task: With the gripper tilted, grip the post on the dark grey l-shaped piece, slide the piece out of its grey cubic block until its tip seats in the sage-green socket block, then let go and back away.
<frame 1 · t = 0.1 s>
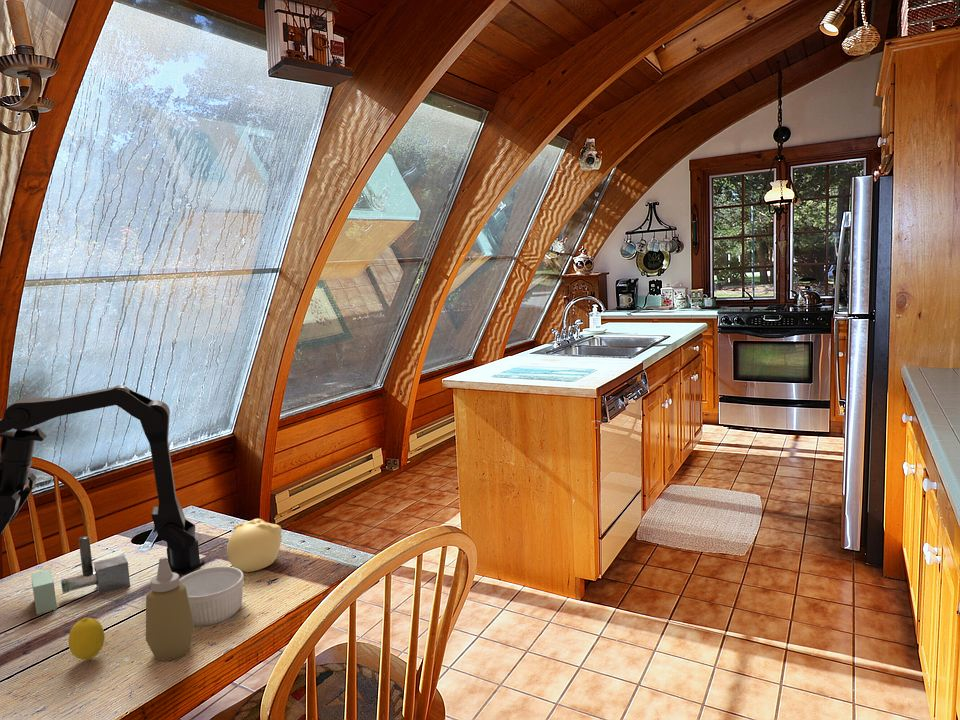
hand: (2, 529, 142), 15 cm above the table, tool pointing down, fingers open, 9 cm apart
ramekin: (211, 613, 136), on the table
squeeze bottle: (172, 653, 122), on the table
socket block: (45, 604, 141), on the table
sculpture: (255, 566, 157), on the table
grey cubic block: (113, 586, 148), on the table
dark grey l-shaped piece: (91, 560, 145), point 7 cm above the table, slide at 0.0 cm
lemon: (89, 660, 120), on the table
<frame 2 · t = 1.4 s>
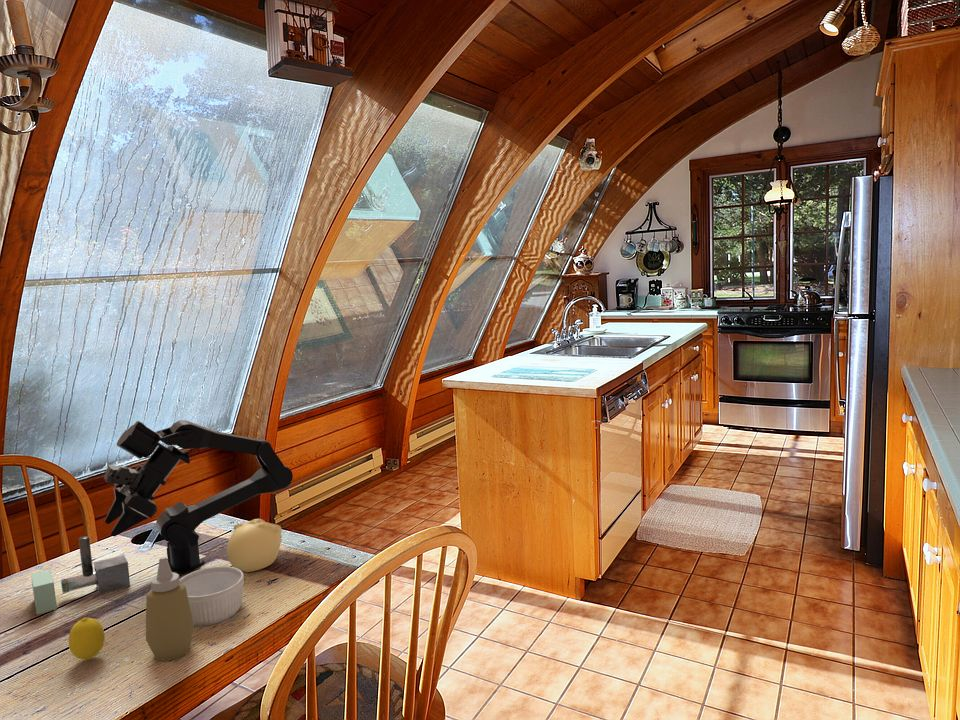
hand: (109, 529, 147), 13 cm above the table, tool tilted 45°, fingers open, 9 cm apart
nothing on the table moved.
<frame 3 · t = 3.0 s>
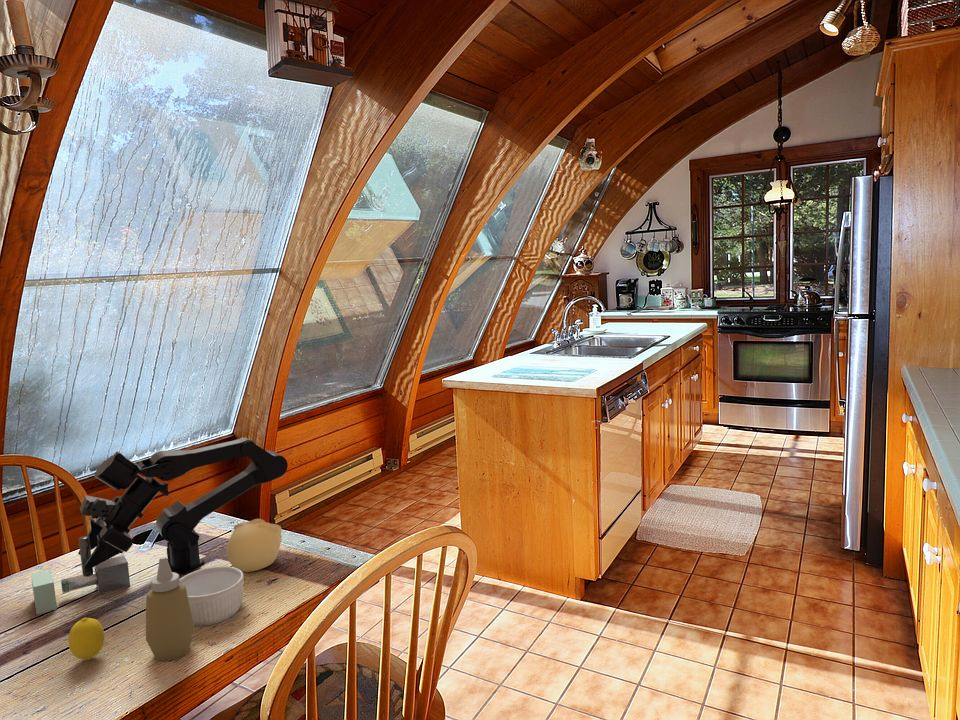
hand: (82, 561, 144), 7 cm above the table, tool tilted 45°, fingers open, 9 cm apart
nothing on the table moved.
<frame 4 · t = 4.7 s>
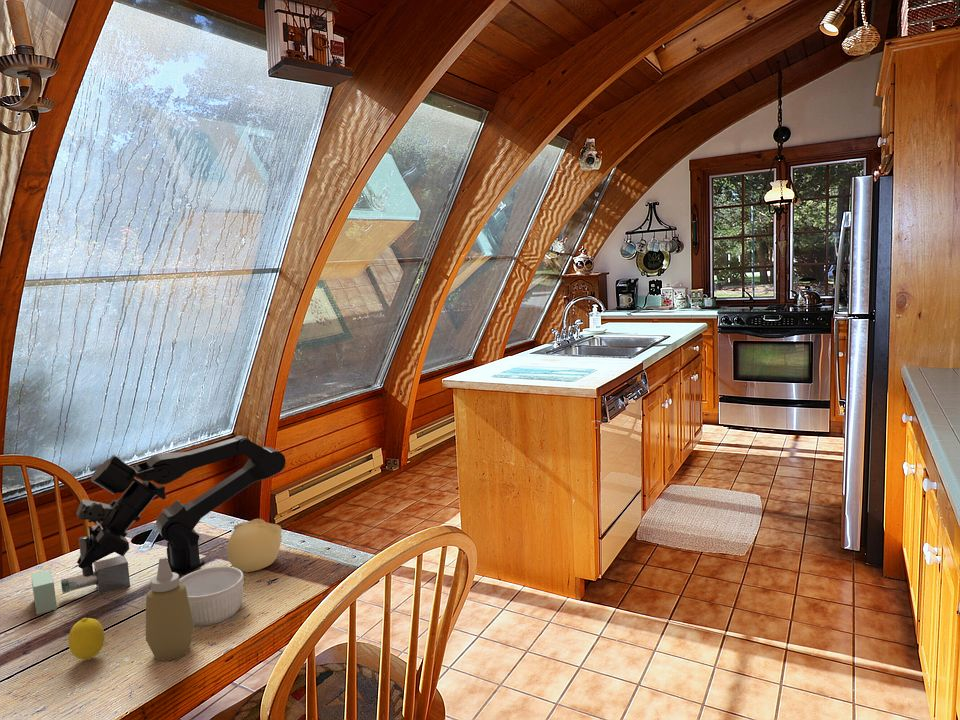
hand: (79, 565, 144), 7 cm above the table, tool tilted 45°, fingers closed on dark grey l-shaped piece, 2 cm apart
dark grey l-shaped piece: (91, 560, 145), point 7 cm above the table, slide at 0.0 cm, touching gripper
everything else where it was.
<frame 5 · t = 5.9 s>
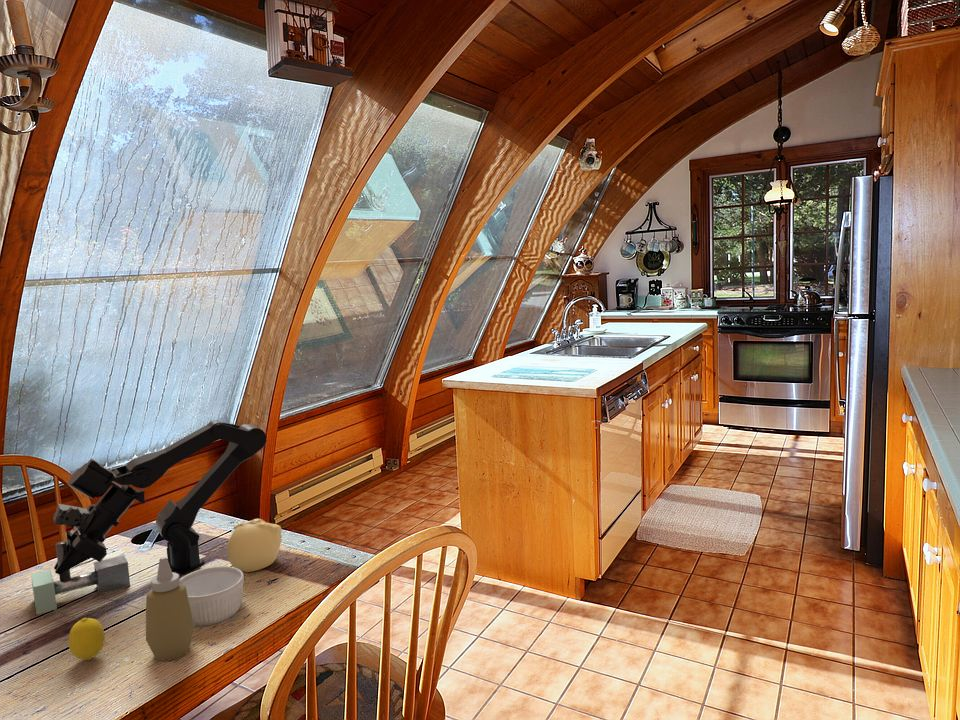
hand: (56, 571, 141), 7 cm above the table, tool tilted 45°, fingers closed on dark grey l-shaped piece, 2 cm apart
dark grey l-shaped piece: (69, 566, 143), point 7 cm above the table, slide at 4.2 cm, touching gripper
everything else where it was.
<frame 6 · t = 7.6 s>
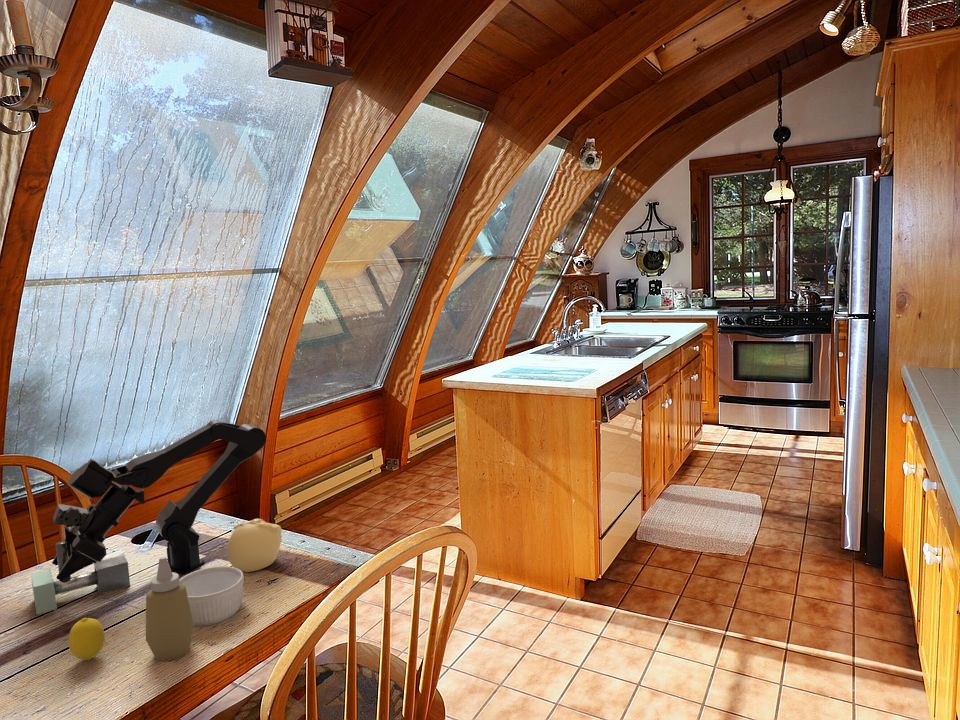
hand: (56, 571, 141), 7 cm above the table, tool tilted 45°, fingers open, 9 cm apart
dark grey l-shaped piece: (69, 566, 143), point 7 cm above the table, slide at 4.2 cm
everything else where it was.
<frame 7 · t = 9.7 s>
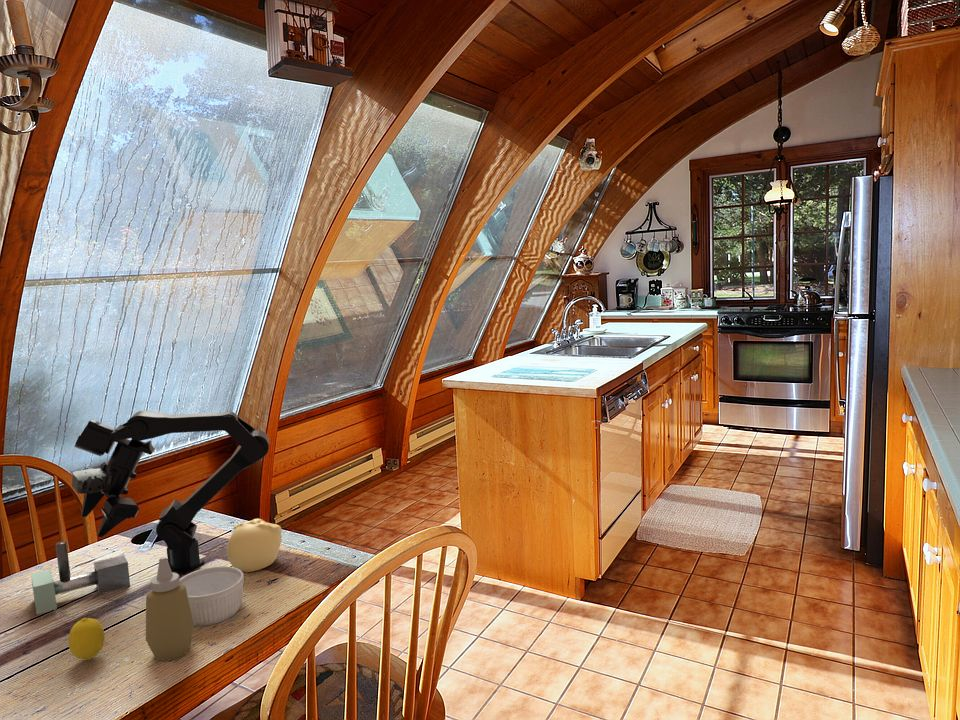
hand: (91, 526, 150), 13 cm above the table, tool tilted 30°, fingers open, 9 cm apart
nothing on the table moved.
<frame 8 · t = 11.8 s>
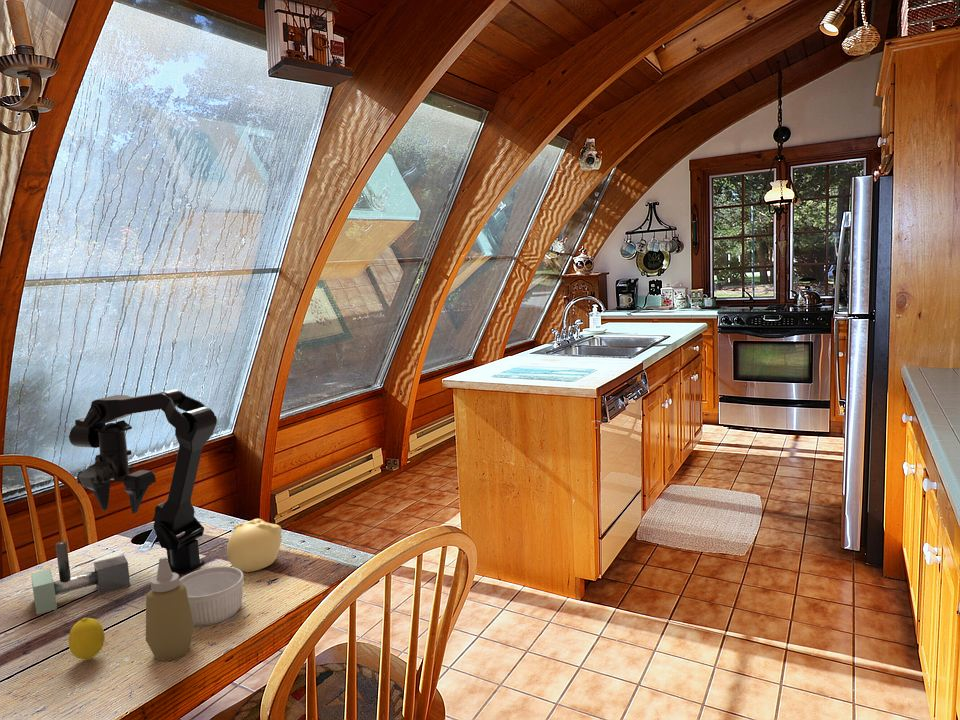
hand: (119, 511, 161), 12 cm above the table, tool pointing down, fingers open, 9 cm apart
nothing on the table moved.
at the end: dark grey l-shaped piece slide at 4.2 cm; the gripper is holding nothing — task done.
